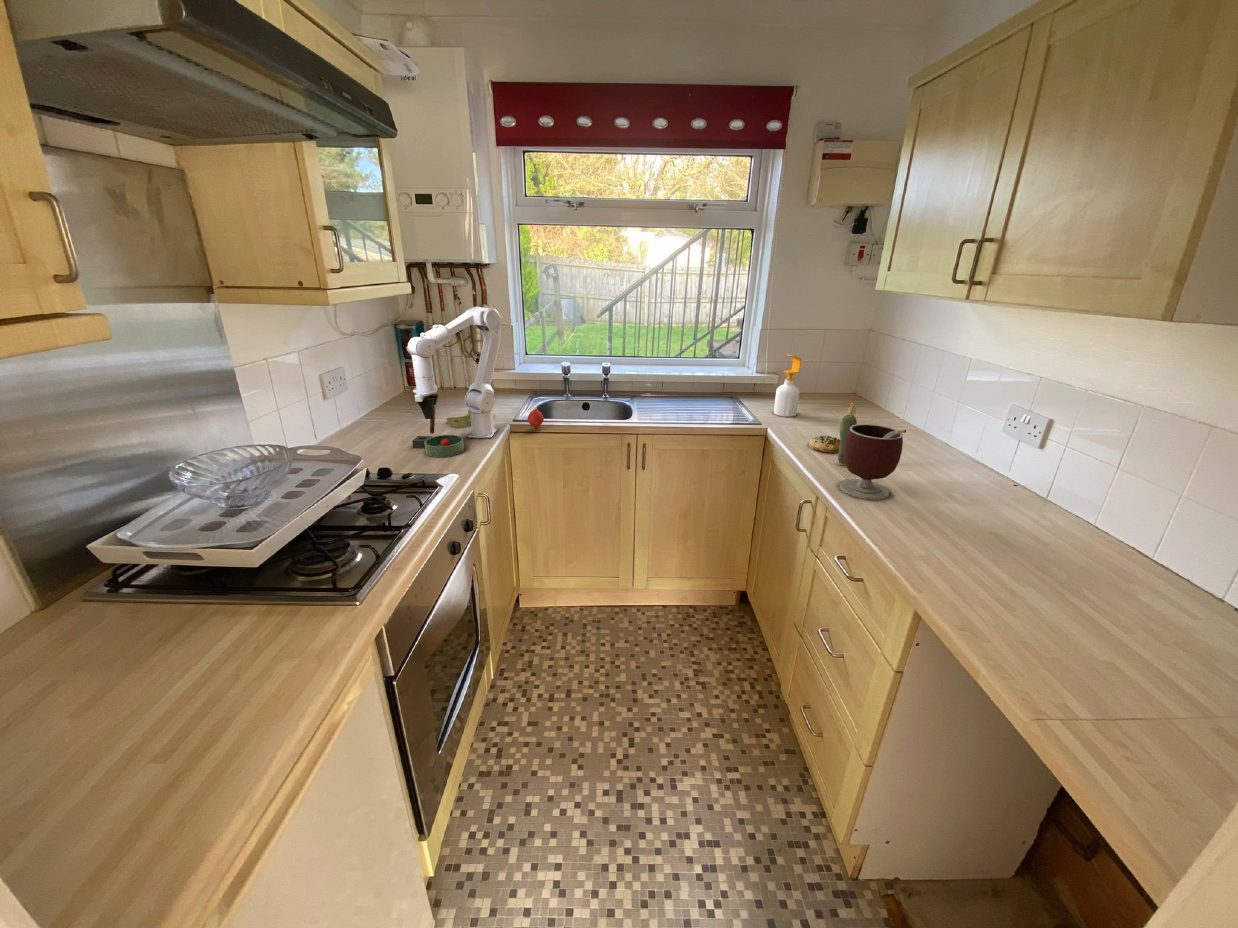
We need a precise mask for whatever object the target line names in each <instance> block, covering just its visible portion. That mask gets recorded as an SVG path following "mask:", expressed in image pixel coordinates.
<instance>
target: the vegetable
mask: <svg viewBox="0 0 1238 928" xmlns="http://www.w3.org/2000/svg"><path fill="white" fill-rule="evenodd" d="M856 410H857V409H856V407H855V405H854V403H853V402H851V401H849V403H848V410H847V414H846V415H844V416H843V417H842V418H841V421H840V425H839V426H840V427H839V439H840V445H839V452H837V453H838V454H837V460H838V464H839V465H840V466H844V465H845V463H844V457H843V452H844V444H845V440H846V437H847V434H848V432H849V430H850V427H851V426H853V425H857V424H858V421H857V418H856V416H855V414H856Z"/></svg>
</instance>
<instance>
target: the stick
mask: <svg viewBox="0 0 1238 928" xmlns="http://www.w3.org/2000/svg"><path fill="white" fill-rule="evenodd" d="M435 425H436V408H435V405H433V418H432V419H429V433H430V434H431V435H433V434H434V433H435Z"/></svg>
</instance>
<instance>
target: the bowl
mask: <svg viewBox="0 0 1238 928" xmlns="http://www.w3.org/2000/svg"><path fill="white" fill-rule="evenodd" d="M443 439H448V440H449V441H450V445H449V446H441V441H442V440H443ZM424 444H425V448H424V451H425V454H426V455H427V456H429V457H433V458H447V457H453V456H456V455H459V454H461V453H463V452H464V451H465V443H464V438H463V436H460V435H457V434H440V435H436V436H435V435H434V436H432V437H431V438H429V439H427V440H426V441H425V442H424Z"/></svg>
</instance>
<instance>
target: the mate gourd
mask: <svg viewBox="0 0 1238 928" xmlns="http://www.w3.org/2000/svg"><path fill="white" fill-rule="evenodd" d="M906 433H907V430H906V429H896V428H892V427H890V426H885V425H882V424H881V425H880V424H874V423H873V424H872V423H857V425H853V426H851V427H850V430H849V432H848V434H847V437H846V440H845V444H844V452H843V457H844V463H845V464H844V465H845V467H846V469H847V471H849V473H850V474H853V475H854V476H857V477H858V478H859V479H858V478H857V479H856V478H850V479H844V480H842V481H841V482H840V484H839V488H840V490H841V491H842V492H844V493H845V494H847V495H849V496H852V497H855V498H859V499H862V500H863V499H864V500H873V501H874V500H875V501H877V500H878V501H879V500H884V499H886V498H888V497H889V494H890V490H889V489H888V488H887V487H886V486H884V485H882V484H880V483H878V482H874V481H872V480H881V479H885V478H887V477H889V476H890V475H891V474H892V473H894V472H895V470H896V468H897V467H898V465H899V462H900V459H901V457H902V452H903V447H904V446H903V445H904V444H903V443H904V439H903V437H904V434H906Z"/></svg>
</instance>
